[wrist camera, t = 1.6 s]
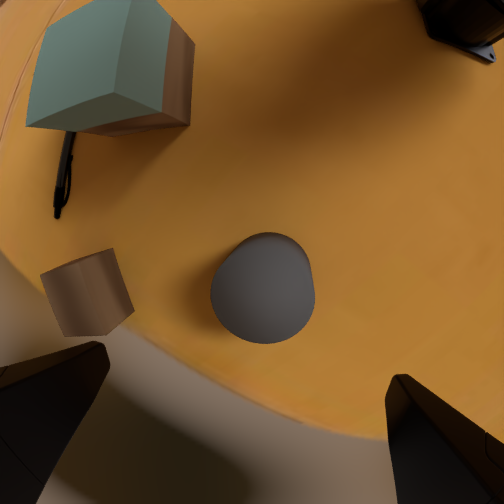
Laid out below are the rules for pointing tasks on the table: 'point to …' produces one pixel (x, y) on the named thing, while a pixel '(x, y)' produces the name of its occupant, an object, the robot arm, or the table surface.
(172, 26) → the tower base
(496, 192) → the table surface
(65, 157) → the pen
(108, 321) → the block
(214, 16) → the table surface
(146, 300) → the table surface
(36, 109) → the tower top
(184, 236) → the table surface
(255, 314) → the stone
